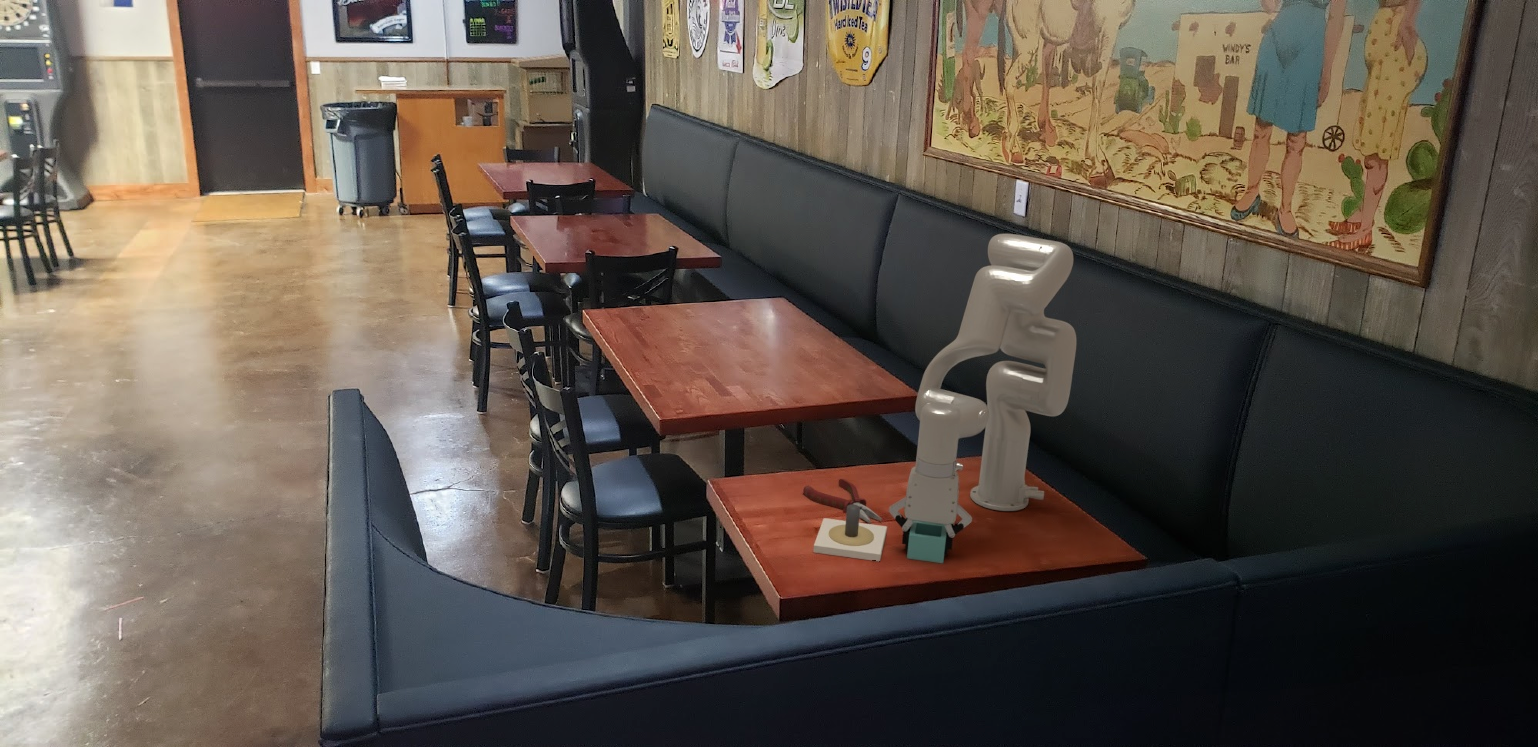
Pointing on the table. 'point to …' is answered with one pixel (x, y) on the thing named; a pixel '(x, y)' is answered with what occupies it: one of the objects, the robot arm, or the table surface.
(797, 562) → the table surface
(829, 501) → the pliers
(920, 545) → the collar
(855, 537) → the post stand
